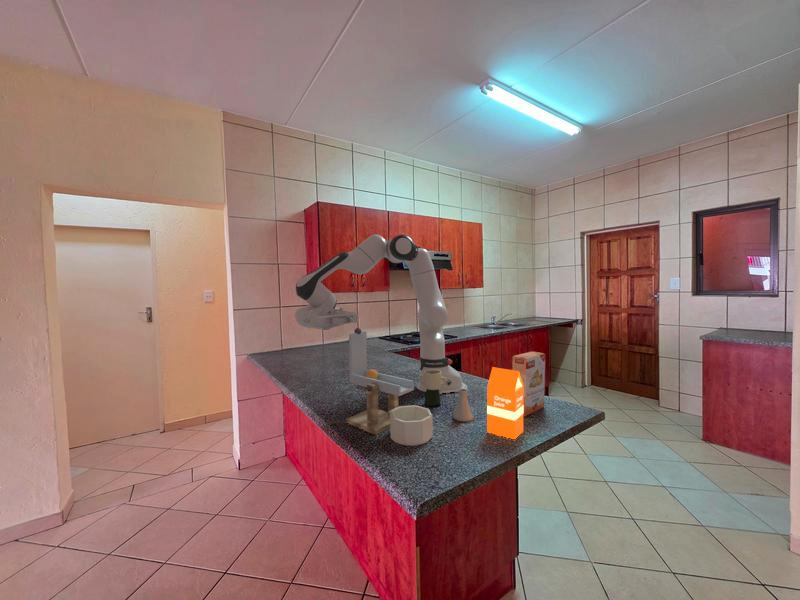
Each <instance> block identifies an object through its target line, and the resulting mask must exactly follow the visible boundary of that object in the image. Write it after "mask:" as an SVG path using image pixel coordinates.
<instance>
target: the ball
mask: <svg viewBox="0 0 800 600" xmlns="http://www.w3.org/2000/svg"><path fill="white" fill-rule="evenodd" d="M378 373H379V372H378V371H377V370H376V369H373V368H372V369H369V370H368V372H367V374H366V377H367V378H371V379H375V380H376V379H377V378H378Z"/></svg>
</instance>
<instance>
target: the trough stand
mask: <svg viewBox="0 0 800 600" xmlns="http://www.w3.org/2000/svg"><path fill="white" fill-rule="evenodd" d="M397 407H399V396H397V395H393V394H390V393H387V411H385V410H382V409H379V390H378V384H374V383H369V384H367V391H366V410H364V411H362V412H360V413H357V414H355V415H353V416H350V417H348V418H346V421H345V422H346V424H347V423H349V424H348V425H350V424H351V425H350V426H352V425H353V427H355V426H356V427H355V428H357V427H358V429H361V430H362V429H363V430H362V431H365V432H366V433H367V432H368V433H370V434H372V435H375V436H377V435H379V434H381V433H384V432H386V431H388V430H390V411H391V410H393V409H395V408H397Z"/></svg>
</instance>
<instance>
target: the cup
mask: <svg viewBox="0 0 800 600" xmlns="http://www.w3.org/2000/svg"><path fill="white" fill-rule="evenodd" d="M433 417H434V416H433V413H431V410H430V408H428V407H427V408H426V407H423V406H419V405H417V404H416V405H398V407H397V408H395V409H393V410H391V411H390V428H389V435H390V440H392V441H393V442H394V443H395V444H398V445H402V446H407V447H409V446H411V447H414V446H420V445H423V444H427V443H428V442H429V441H430V440H431V439H432V437H434V433H433V432H434V430H433V427H434V423H433V422H434V421H433V420H434V419H433Z"/></svg>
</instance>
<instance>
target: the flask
mask: <svg viewBox="0 0 800 600" xmlns="http://www.w3.org/2000/svg"><path fill="white" fill-rule="evenodd" d="M458 391H459V392H458V393H459V395H458V399H457V402H456V405H455V408H454V410H453V413H452V417H453V420H456V421H458V422H470V421H473V420H475V418H474V415H473V413H472V411H471V407H470V403H469V400H468V391H469V390H468V388H467V389H458Z"/></svg>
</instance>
